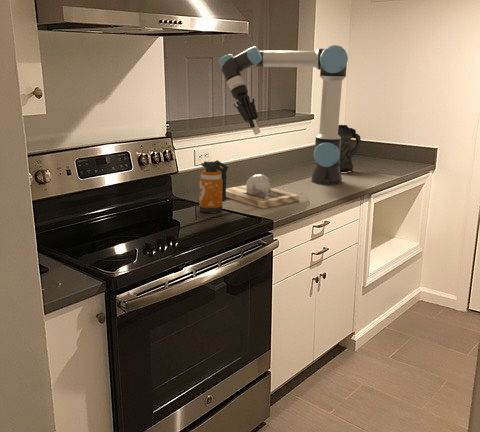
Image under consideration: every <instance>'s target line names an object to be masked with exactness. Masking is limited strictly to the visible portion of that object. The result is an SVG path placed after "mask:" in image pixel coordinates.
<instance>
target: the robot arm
mask: <svg viewBox="0 0 480 432" xmlns="http://www.w3.org/2000/svg"><path fill="white" fill-rule="evenodd" d="M348 60H349V57H348V53H347V51H346V49H345V48H344V47H343V46H341V45H336V44H333V45H332V44H331V45H329V46H327V47H324V48H317V49H316V50H259V48H258V47H257V46H255V45H254V46H252V47H249V48H247V49H245V50H244V51H243V52H240V53H239V54H237V55H235V56H233V54H231V53H229V54H226V55H224V56H223V55H222V56H221V57H220V58H219V60H218V64H219V67H220V70H221V72H222V74H223V77H224V79H225V81H226V83H227V85H228V88H229V91H230V93H231V95H232V97H233V98H234V100H235V102H233V106H234V107H235V108H236V109H237V111H238V112H239V114H240V116H241V117H242V119H243V120H244V122H246V123H247V124H249V126H250V128H251V130H252V133H253V134H254V135H255V136H257V135H259V134H260V133H261V129H260V127H259V124H258V122H257V119H258V118H259V115H258V112H257V108H256V103H255V98H250V96H249V89H248V87H247V86H246V84H245V83H246V82H245V81H244V78H243V75H242V74H241V72H243V71H245V70H247V69H250V68H315V69H317V70H320V71H319V77H320V78H321V79H322V87H321V88H322V90H321V104H320V117H319V132H318V134H317V135H316V136H315V141H314V150H313V159H314V161H315V166H314V169H313V172H312V175H311V180H310V181H311V182H312V183H314V182H315V184H318V183H320V184H321V185H339V184H338V183H340V184H342V183H343V177H342V174H341V172H340V168H339V163H340V150H341V137H340V136H339V135H338V126H339V125H340V112H341V100H342V86H343V80H345V78H346V77H347V65H348V62H349V61H348ZM341 182H342V183H341ZM320 184H319V185H320Z"/></svg>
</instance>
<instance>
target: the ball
mask: <svg viewBox="0 0 480 432" xmlns="http://www.w3.org/2000/svg"><path fill="white" fill-rule="evenodd" d="M245 185H246V191H247V193H248V195H250V196H253V197H257V198H260V199H264V200H265V199H267V197H268V196H269V194H270V192H271V188H272V182H271V180H270V179H269V178H268V177H267V175H265V174H262V173H256V174H253V175H251V176H250V177H249V178H248V179H247V181H246V183H245Z"/></svg>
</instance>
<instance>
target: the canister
mask: <svg viewBox="0 0 480 432" xmlns="http://www.w3.org/2000/svg"><path fill="white" fill-rule="evenodd" d="M200 165H201V166H202V167H204V169H203V170H202V171H201V173H200V178H199V191H198V192H199V199H198V200H199V201H198V202H199V203H198V204H199V211H201V212H203V213H205V212H217V213H219V212H222V211H223V202H225V201H227V199H228V197H226V188H227V172H228V170H229V169H228V168H229V166H227V165H226V164H224V163H223V162H222V161H219V160H217V159H216V160H215V161H203V162H202V163H201V164H200Z"/></svg>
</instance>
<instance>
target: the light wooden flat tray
mask: <svg viewBox="0 0 480 432" xmlns="http://www.w3.org/2000/svg"><path fill="white" fill-rule="evenodd" d="M268 196H269V197H271V198H264V199H260V198H257V197H253V196H250V195H248V193H247V191H246V184H245V185H237V186H233V187H226V197H227V199H231V200H235V201H237V202H240V203H241V202H242V203H244V204H247V205H250V206H255V207H258V208H260V209H266V208H271V207H276V206H280V205H287V204H290V203H296V202H299V201H300V200H299V199H300V194H296V193H292V192H288V191H284V190H281V189H277V188H273V187H271V192H270V194H269V195H268Z"/></svg>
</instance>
